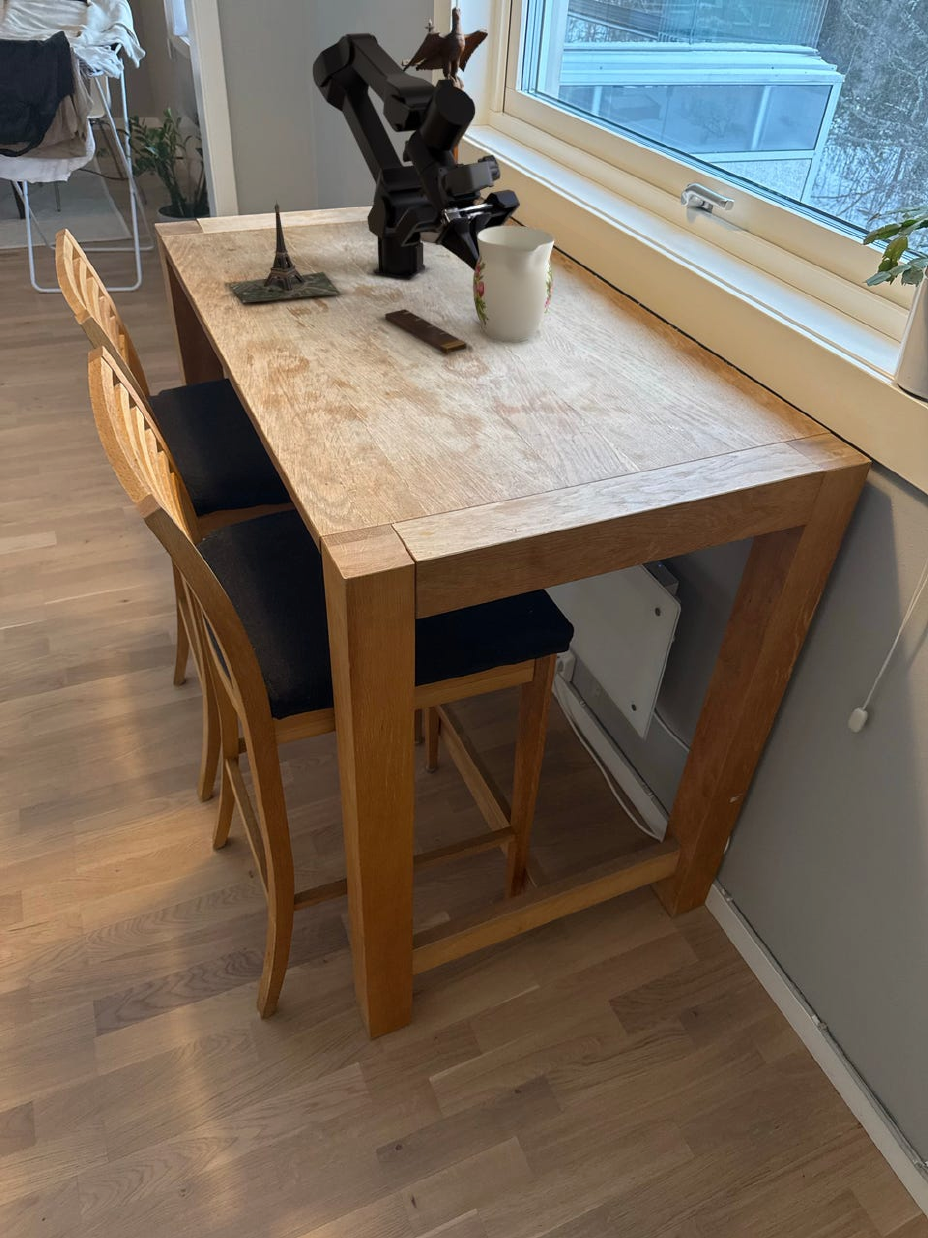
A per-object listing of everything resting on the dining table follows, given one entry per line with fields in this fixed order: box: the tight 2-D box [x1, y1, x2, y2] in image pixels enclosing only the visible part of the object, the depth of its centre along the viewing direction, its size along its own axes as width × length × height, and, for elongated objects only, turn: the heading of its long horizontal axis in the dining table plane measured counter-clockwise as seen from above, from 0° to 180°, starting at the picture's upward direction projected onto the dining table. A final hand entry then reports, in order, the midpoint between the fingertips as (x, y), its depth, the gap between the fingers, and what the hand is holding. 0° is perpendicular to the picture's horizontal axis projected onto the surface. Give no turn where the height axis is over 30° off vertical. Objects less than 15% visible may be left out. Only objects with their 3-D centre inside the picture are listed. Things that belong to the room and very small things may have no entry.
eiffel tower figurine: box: [229, 199, 341, 304], centre depth 134 cm, size 15×10×13 cm
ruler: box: [384, 308, 467, 355], centre depth 127 cm, size 15×4×1 cm, turn 37°
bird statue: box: [400, 6, 489, 243], centre depth 153 cm, size 17×13×35 cm
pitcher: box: [472, 225, 555, 343], centre depth 124 cm, size 11×18×14 cm, turn 7°
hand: (482, 272), depth 128 cm, fingers closed
